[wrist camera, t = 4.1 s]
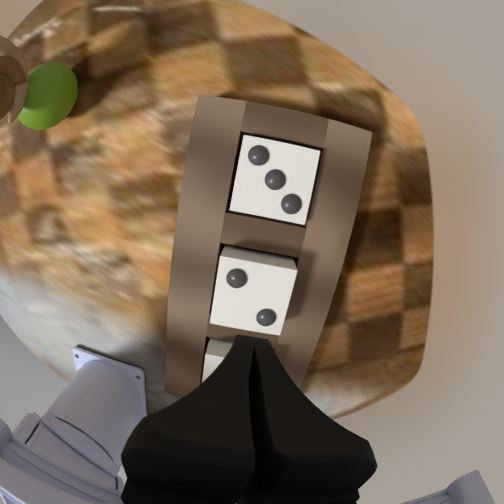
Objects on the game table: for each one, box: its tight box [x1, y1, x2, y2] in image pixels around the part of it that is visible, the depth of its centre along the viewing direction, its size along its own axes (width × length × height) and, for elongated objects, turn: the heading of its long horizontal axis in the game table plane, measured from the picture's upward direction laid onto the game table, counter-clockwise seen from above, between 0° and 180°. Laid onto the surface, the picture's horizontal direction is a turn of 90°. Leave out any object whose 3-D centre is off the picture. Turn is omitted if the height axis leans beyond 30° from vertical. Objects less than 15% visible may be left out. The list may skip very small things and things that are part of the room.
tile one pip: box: [202, 337, 234, 382], centre depth 20 cm, size 4×4×3 cm
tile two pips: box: [210, 245, 297, 335], centre depth 18 cm, size 4×4×3 cm
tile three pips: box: [230, 135, 320, 225], centre depth 17 cm, size 4×4×3 cm
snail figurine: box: [0, 35, 78, 130], centre depth 11 cm, size 5×6×12 cm
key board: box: [165, 95, 372, 397], centre depth 19 cm, size 23×11×2 cm, turn 169°
